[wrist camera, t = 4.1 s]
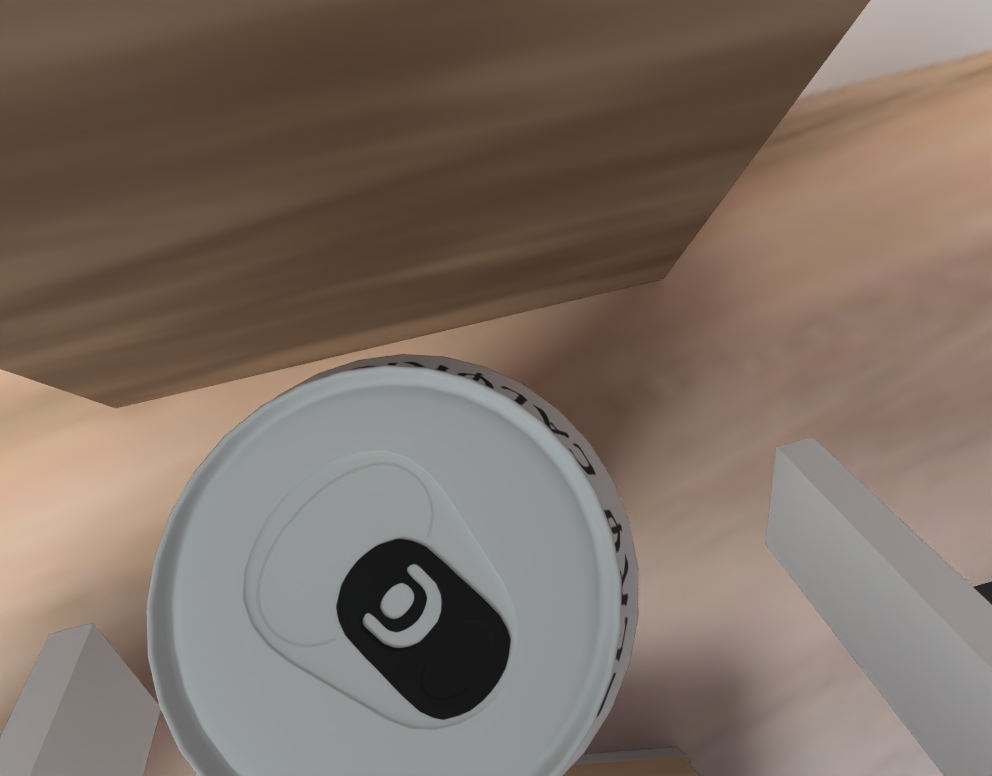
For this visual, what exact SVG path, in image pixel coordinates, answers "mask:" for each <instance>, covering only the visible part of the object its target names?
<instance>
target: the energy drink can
mask: <svg viewBox="0 0 992 776" xmlns="http://www.w3.org/2000/svg"><path fill="white" fill-rule="evenodd" d="M146 609H147V646H148V659H149V664H150V668H151V673H152V677H153V682H154V686H155V691H156V695H157V699H158V704H159V707H160V709H161V711H162V713H163V715H164V718H165V720H166V722H167V724H168V726H169V729H170V731H171V733H172V735H173V737H174V740H175V742H176V744H177V746H178V748H179V751H180V752H181V753H182V755H183V756H184V757H185V759H186V760H187V761H188V763H189V764H190V766H191V767H192V768H193V770H194V771H195V772H196V774H197V775H198V776H562V775H563V774H564V773H565V772H566V771H567V770H568V769H569V768H570V767H571V766H572V765H573V764H574V763H575V762H576V761H577V760H578V759H579V758H580V757H581V756H582V755H583V754H584V752H585V751H586V749H587V748H588V746H589V744H590V743H591V741H592V740H593V738H594V737H595V735H596V733H597V732H598V730H599V729H600V727H601V725H602V724H603V722H604V721H605V719H606V718H607V716H608V714H609V713H610V711H611V709H612V707H613V704H614V702H615V699H616V697H617V694H618V692H619V689H620V686H621V684H622V681H623V679H624V676H625V674H626V671H627V669H628V666H629V663H630V658H631V652H632V647H633V642H634V636H635V631H636V626H637V620H638V564H637V559H636V554H635V549H634V543H633V538H632V533H631V528H630V522H629V520H628V517H627V515H626V512H625V510H624V507H623V504H622V502H621V499H620V497H619V494H618V492H617V489H616V487H615V484H614V482H613V479H612V478H611V476H610V475H609V473H608V471H607V470H606V468H605V467H604V465H603V464H602V462H601V460H600V459H599V457H598V456H597V454H596V452H595V451H594V449H593V448H592V446H591V445H590V443H589V442H588V441H587V440H586V438H585V437H584V436H583V435H582V434H581V433H580V432H579V431H578V430H577V429H576V428H575V427H574V426H573V425H572V423H571V422H570V421H569V420H568V419H567V418H566V417H565V416H564V415H563V414H562V413H561V412H560V411H559V410H558V409H557V408H555V407H554V406H553V405H551V404H550V403H548V402H547V401H546V400H544V399H543V398H542V397H540V396H539V395H537V394H536V393H535V392H533V391H532V390H530V389H529V388H528V387H526V386H525V385H523V384H521V383H519V382H517V381H515V380H512V379H510V378H508V377H506V376H504V375H502V374H500V373H497V372H495V371H493V370H491V369H489V368H487V367H484V366H480V365H476V364H472V363H468V362H464V361H460V360H456V359H452V358H448V357H441V356H423V355H405V354H401V355H393V356H386V357H378V358H371V359H363V360H358V361H355V362H352V363H349V364H346V365H343V366H340V367H337V368H334V369H330V370H327V371H324V372H321V373H318V374H316V375H314V376H313V377H311V378H309V379H307V380H305V381H304V382H302V383H300V384H298V385H296V386H294V387H293V388H291V389H289V390H287V391H285V392H284V393H282V394H280V395H278V396H277V397H276V398H275V399H273V400H272V401H270V402H268V403H266V404H264V405H263V406H261V407H260V408H258V409H257V410H256V411H255V412H253V413H252V414H251V415H250V416H249V417H247V418H246V419H245V420H244V421H242V422H241V423H240V424H239V425H237V426H236V427H235V428H234V429H233V430H231V431H230V432H229V433H228V434H226V435H225V436H224V438H223V439H222V440H221V441H220V442H219V443H218V445H217V446H216V447H215V448H214V449H213V450H212V452H211V453H210V454H209V455H208V456H207V457H206V459H205V460H204V461H203V462H202V463H201V464H200V466H199V467H198V468H197V469H196V470H195V472H194V474H193V475H192V477H191V479H190V480H189V482H188V484H187V485H186V487H185V489H184V491H183V492H182V494H181V496H180V497H179V499H178V501H177V503H176V504H175V506H174V508H173V509H172V511H171V513H170V516H169V519H168V522H167V524H166V527H165V530H164V533H163V536H162V538H161V541H160V544H159V547H158V549H157V552H156V555H155V558H154V564H153V570H152V576H151V582H150V588H149V594H148V600H147V606H146Z"/></svg>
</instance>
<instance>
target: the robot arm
mask: <svg viewBox="0 0 992 776" xmlns="http://www.w3.org/2000/svg"><path fill="white" fill-rule="evenodd" d="M765 544H766V545H767V547H768V548H769V549H770V550H771V552H772V553H773V554H774V556H775V557H776V558H777V560H778V561H779V562H780V563H781V565H782V566H783V567H784V569H785V570H786V571H787V573H788V574H789V575H790V576H791V578H792V579H793V580H794V582H795V583H796V584H797V586H798V587H799V588H800V589H801V591H802V592H803V593H804V595H805V596H806V597H807V599H808V600H809V601H810V602H811V604H812V605H813V606H814V608H815V609H816V610H817V612H818V613H819V614H820V615H821V617H822V618H823V619H824V621H825V622H826V623H827V625H828V626H829V627H830V628H831V630H832V631H833V632H834V634H835V635H836V636H837V638H838V639H839V640H840V641H841V643H842V644H843V645H844V647H845V648H846V649H847V651H848V652H849V653H850V654H851V656H852V657H853V658H854V660H855V661H856V662H857V664H858V665H859V666H860V667H861V669H862V670H863V671H864V673H865V674H866V675H867V676H868V678H869V679H870V680H871V682H872V683H873V684H874V686H875V687H876V688H877V689H878V691H879V692H880V693H881V695H882V696H883V697H884V699H885V700H886V701H887V702H888V704H889V705H890V706H891V708H892V709H893V710H894V712H895V713H896V714H897V715H898V717H899V718H900V719H901V721H902V722H903V723H904V725H905V726H906V727H907V728H908V730H909V731H910V732H911V734H912V735H913V736H914V738H915V739H916V740H917V741H918V743H919V744H920V745H921V747H922V748H923V749H924V751H925V752H926V753H927V754H928V756H929V757H930V758H931V760H932V761H933V762H934V764H935V765H936V766H937V767H938V769H939V770H940V771H941V773H942V774H943V775H944V776H992V582H989V583H985V584H982V585H978V586H975V587H972V586H971V585H970V584H969V583H968V582H967V581H966V580H965V579H964V578H963V577H962V576H961V575H959V574H958V573H957V572H956V571H955V570H954V569H953V568H952V567H951V566H950V565H949V564H948V563H947V562H946V561H944V560H943V559H942V558H941V557H940V556H939V555H938V554H937V553H936V552H935V551H934V550H933V549H932V548H931V547H929V546H928V545H927V544H926V543H925V542H924V541H923V540H922V539H921V538H920V537H919V536H918V535H917V534H916V533H915V532H913V531H912V530H911V529H910V528H909V527H908V526H907V525H906V524H905V523H904V522H903V521H902V520H901V519H900V518H898V517H897V516H896V515H895V514H894V513H893V512H892V511H891V510H890V509H889V508H888V507H887V506H886V505H885V504H884V503H882V502H881V501H880V500H879V499H878V498H877V497H876V496H875V495H874V494H873V493H872V492H871V491H870V490H869V489H867V488H866V487H865V486H864V485H863V484H862V483H861V482H860V481H859V480H858V479H857V478H856V477H855V476H854V475H853V474H851V473H850V472H849V471H848V470H847V469H846V468H845V467H844V466H843V465H842V464H841V463H840V462H839V461H838V460H836V459H835V458H834V457H833V456H832V455H831V454H830V453H829V452H828V451H827V450H826V449H825V448H824V447H823V446H822V445H820V444H819V443H818V442H817V441H816V440H815V439H814V438H813V437H811V438H807V439H803V440H799V441H795V442H791V443H787V444H784V445H780V446H776V453H775V462H774V471H773V480H772V489H771V498H770V507H769V516H768V525H767V534H766V543H765ZM160 711H161V709H160V707H159V705H158V703H157V702H156V701H155V700H154V698H153V697H152V696H151V695H150V693H149V692H148V691H147V690H146V688H145V687H144V686H143V685H142V683H141V682H140V681H139V680H138V678H137V677H136V676H135V674H134V673H133V672H132V671H131V669H130V668H129V667H128V666H127V664H126V663H125V662H124V661H123V659H122V658H121V657H120V656H119V654H118V653H117V652H116V651H115V649H114V648H113V647H112V646H111V644H110V643H109V642H108V641H107V639H106V638H105V637H104V636H103V634H102V633H101V632H100V631H99V629H98V628H97V627H96V626H95V624H94V623H91V624H87V625H83V626H79V627H75V628H72V629H68V630H64V631H60V632H56V633H52V634H49V636H48V638H47V640H46V642H45V645H44V647H43V649H42V651H41V653H40V655H39V657H38V659H37V661H36V663H35V665H34V668H33V670H32V672H31V674H30V676H29V678H28V680H27V682H26V684H25V686H24V688H23V691H22V693H21V695H20V697H19V699H18V701H17V703H16V705H15V707H14V709H13V711H12V714H11V716H10V718H9V720H8V722H7V724H6V726H5V728H4V730H3V732H2V734H1V736H0V776H143V774H144V770H145V766H146V763H147V759H148V755H149V751H150V748H151V744H152V740H153V737H154V733H155V729H156V725H157V722H158V718H159V714H160Z"/></svg>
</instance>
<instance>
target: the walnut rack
mask: <svg viewBox="0 0 992 776" xmlns="http://www.w3.org/2000/svg"><path fill="white" fill-rule="evenodd" d="M869 1H870V0H0V369H2V370H5V371H8V372H11V373H14V374H17V375H20V376H23V377H26V378H29V379H31V380H34V381H37V382H40V383H43V384H46V385H49V386H52V387H55V388H58V389H61V390H64V391H67V392H70V393H72V394H75V395H78V396H81V397H84V398H87V399H90V400H93V401H96V402H99V403H102V404H105V405H108V406H111V407H114V408H119V407H123V406H127V405H131V404H136V403H140V402H144V401H148V400H153V399H157V398H161V397H165V396H169V395H174V394H178V393H182V392H186V391H191V390H195V389H199V388H203V387H208V386H212V385H216V384H220V383H224V382H229V381H233V380H237V379H241V378H246V377H250V376H254V375H258V374H263V373H267V372H271V371H275V370H280V369H284V368H288V367H292V366H296V365H301V364H305V363H309V362H313V361H318V360H322V359H326V358H330V357H335V356H339V355H343V354H347V353H351V352H356V351H360V350H364V349H368V348H373V347H377V346H381V345H385V344H390V343H394V342H398V341H402V340H406V339H411V338H415V337H419V336H423V335H428V334H432V333H436V332H440V331H445V330H449V329H453V328H457V327H461V326H466V325H470V324H474V323H478V322H483V321H487V320H491V319H495V318H500V317H504V316H508V315H512V314H517V313H521V312H525V311H529V310H533V309H538V308H542V307H546V306H550V305H555V304H559V303H563V302H567V301H572V300H576V299H580V298H584V297H588V296H593V295H597V294H601V293H605V292H610V291H614V290H618V289H622V288H627V287H631V286H635V285H639V284H643V283H648V282H652V281H656V280H660V279H664V277H665V276H666V275H667V273H668V272H669V271H670V269H671V268H672V267H673V265H674V264H675V263H676V261H677V260H678V259H679V257H680V256H681V255H682V253H683V252H684V250H685V249H686V248H687V246H688V245H689V244H690V242H691V241H692V240H693V238H694V237H695V236H696V234H697V233H698V232H699V230H700V229H701V228H702V226H703V225H704V224H705V222H706V221H707V219H708V218H709V217H710V215H711V214H712V213H713V211H714V210H715V209H716V207H717V206H718V205H719V203H720V202H721V201H722V199H723V198H724V197H725V195H726V194H727V193H728V191H729V190H730V188H731V187H732V186H733V184H734V183H735V182H736V180H737V179H738V178H739V176H740V175H741V174H742V172H743V171H744V170H745V168H746V167H747V166H748V164H749V163H750V162H751V160H752V159H753V158H754V156H755V155H756V153H757V152H758V151H759V149H760V148H761V147H762V145H763V144H764V143H765V141H766V140H767V139H768V137H769V136H770V135H771V133H772V132H773V131H774V129H775V128H776V127H777V125H778V124H779V122H780V121H781V120H782V118H783V117H784V116H785V114H786V113H787V112H788V110H789V109H790V108H791V106H792V105H793V104H794V102H795V101H796V100H797V98H798V97H799V96H800V94H801V93H802V92H803V90H804V89H805V87H806V86H807V85H808V83H809V82H810V80H811V79H812V78H813V77H814V75H815V74H816V73H817V71H818V70H819V69H820V67H821V66H822V65H823V63H824V62H825V60H826V59H827V58H828V56H829V55H830V54H831V52H832V51H833V50H834V48H835V47H836V46H837V44H838V43H839V42H840V40H841V39H842V37H843V36H844V35H845V34H846V32H847V31H848V30H849V28H850V27H851V25H852V24H853V23H854V21H855V20H856V19H857V17H858V16H859V15H860V13H861V12H862V11H863V9H864V8H865V7H866V5H867V4H868V3H869Z"/></svg>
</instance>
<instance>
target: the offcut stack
mask: <svg viewBox="0 0 992 776" xmlns="http://www.w3.org/2000/svg"><path fill="white" fill-rule="evenodd" d="M562 776H700V774H699V773H698V772H697V771H696V770H695V769H694V768H693V767H692V766H691V765H690V759H689V758H688V757H687V756H686V755H685V754H684V753H683V752H682V751H681V750H680V749H679V748H678V747H665V748H653V749H640V750H628V751H616V752H603V753H591V754H583V755H582V756H581V757H580V758H579V759H578V760H577V761H576V762H575V763H574V764H573V765H572V766H571V767H570V768H569V769H568V770H567V771H566V772H565V773H564V774H563V775H562Z"/></svg>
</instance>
